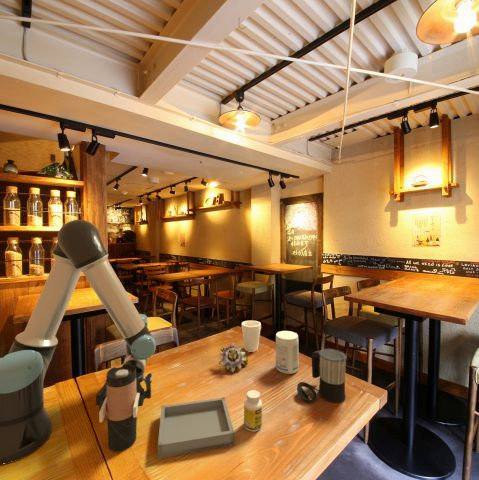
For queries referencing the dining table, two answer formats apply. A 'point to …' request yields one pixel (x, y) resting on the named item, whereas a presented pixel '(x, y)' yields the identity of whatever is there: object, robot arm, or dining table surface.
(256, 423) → the supplement bottle
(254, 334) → the foam cup
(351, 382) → the dining table surface
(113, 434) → the travel mug
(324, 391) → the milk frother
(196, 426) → the tray
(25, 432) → the robot arm
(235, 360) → the passion flower
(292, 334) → the supplement tub
